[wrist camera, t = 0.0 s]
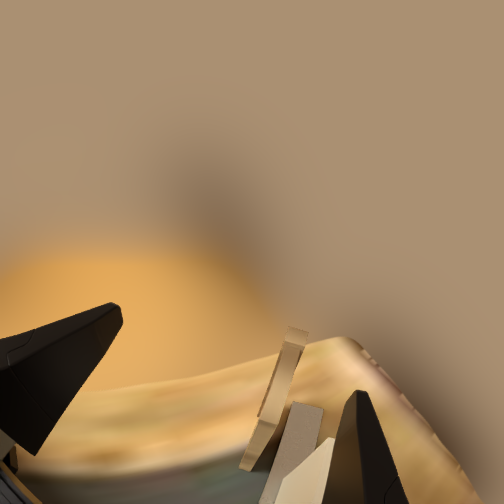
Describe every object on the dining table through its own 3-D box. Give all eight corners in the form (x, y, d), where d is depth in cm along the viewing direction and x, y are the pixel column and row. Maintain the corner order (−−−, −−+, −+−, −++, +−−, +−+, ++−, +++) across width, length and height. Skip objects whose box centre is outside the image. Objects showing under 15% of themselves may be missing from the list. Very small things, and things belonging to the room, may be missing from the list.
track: (271, 575, 8) (272, 576, 8) (229, 566, 9) (229, 567, 9) (322, 410, 24) (323, 408, 24) (292, 402, 24) (293, 401, 24)
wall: (252, 472, 17) (283, 423, 12) (236, 467, 18) (256, 415, 12) (275, 409, 23) (308, 332, 18) (261, 405, 24) (288, 326, 18)
